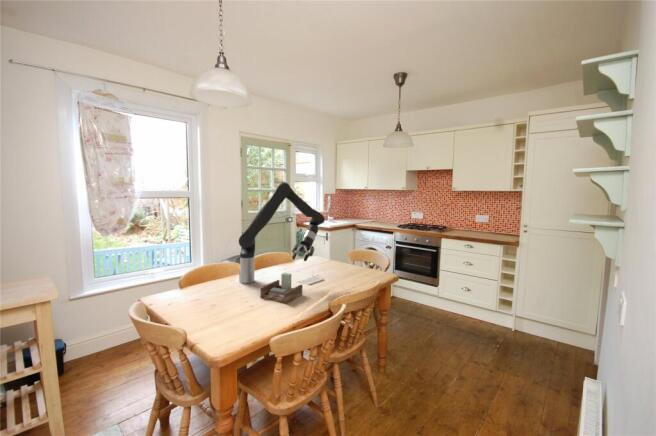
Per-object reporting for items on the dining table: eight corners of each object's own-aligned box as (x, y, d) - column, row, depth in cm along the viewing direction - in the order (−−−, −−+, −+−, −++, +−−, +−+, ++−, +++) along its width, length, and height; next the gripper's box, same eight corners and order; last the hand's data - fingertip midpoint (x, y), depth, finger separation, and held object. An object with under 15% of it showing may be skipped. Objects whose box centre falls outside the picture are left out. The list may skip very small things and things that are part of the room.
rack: (260, 299, 162) (260, 287, 161) (277, 291, 176) (277, 279, 175) (286, 306, 154) (286, 293, 153) (302, 296, 168) (302, 284, 167)
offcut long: (267, 297, 163) (267, 292, 163) (273, 294, 168) (273, 290, 167) (284, 301, 158) (284, 296, 157) (290, 298, 162) (290, 293, 162)
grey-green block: (281, 293, 169) (281, 274, 167) (284, 292, 171) (284, 272, 170) (288, 295, 166) (288, 275, 165) (291, 293, 169) (291, 274, 168)
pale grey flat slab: (278, 288, 183) (291, 292, 176) (278, 283, 183) (291, 288, 175) (311, 277, 207) (323, 281, 199) (311, 273, 207) (324, 276, 199)
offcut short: (269, 293, 162) (269, 289, 162) (273, 290, 166) (273, 287, 166) (283, 295, 159) (283, 292, 159) (287, 293, 163) (287, 289, 163)
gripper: (297, 234, 188) (287, 255, 179) (315, 236, 181) (306, 257, 172) (301, 241, 193) (291, 261, 184) (319, 243, 187) (310, 264, 178)
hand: (298, 259), depth 178 cm, fingers open, 8 cm apart
